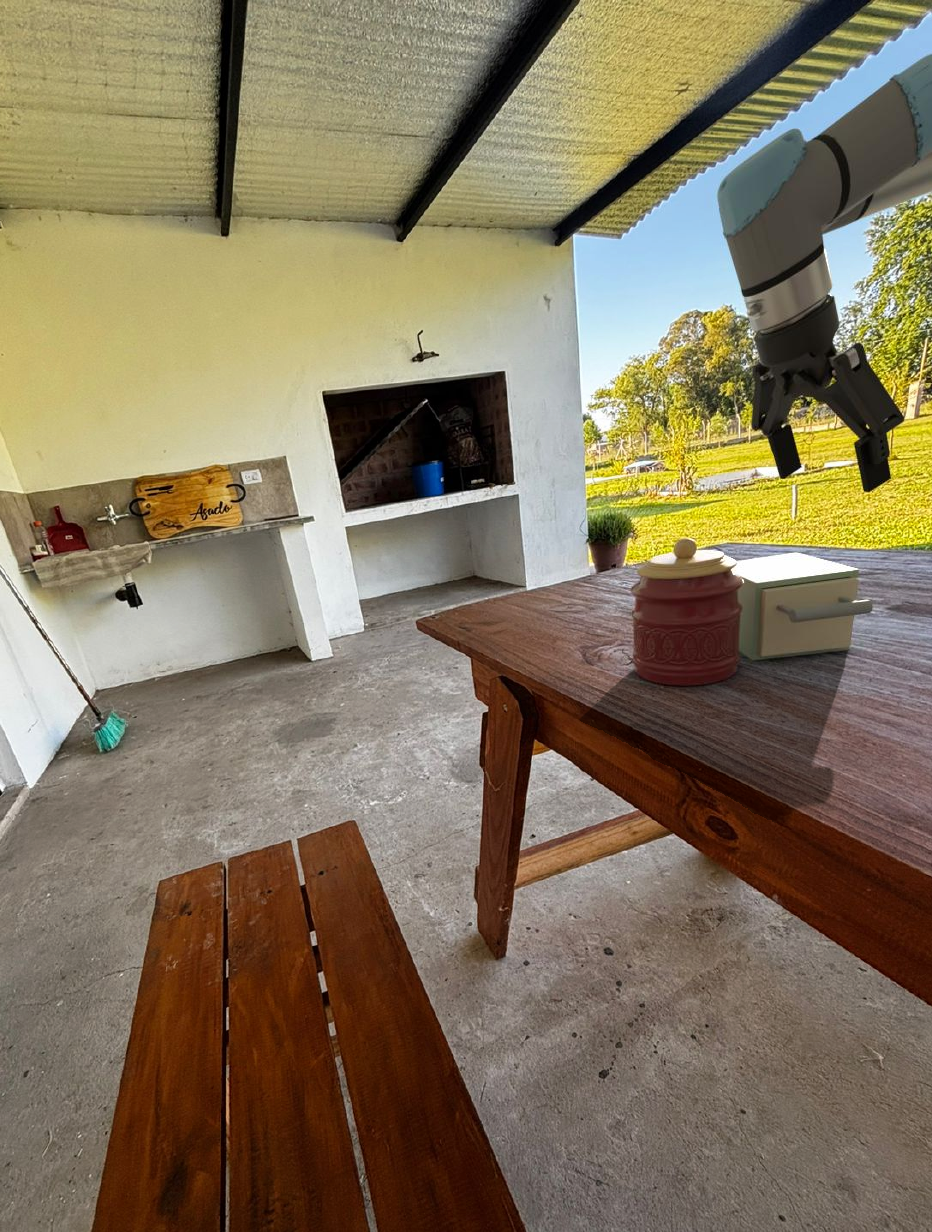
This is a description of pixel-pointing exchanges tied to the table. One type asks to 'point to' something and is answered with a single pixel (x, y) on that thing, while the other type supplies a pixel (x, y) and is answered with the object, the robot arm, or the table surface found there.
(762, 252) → the robot arm
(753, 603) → the small drawer unit
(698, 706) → the table surface
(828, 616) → the sliding drawer
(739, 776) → the table surface
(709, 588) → the kitchen canister
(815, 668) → the table surface
